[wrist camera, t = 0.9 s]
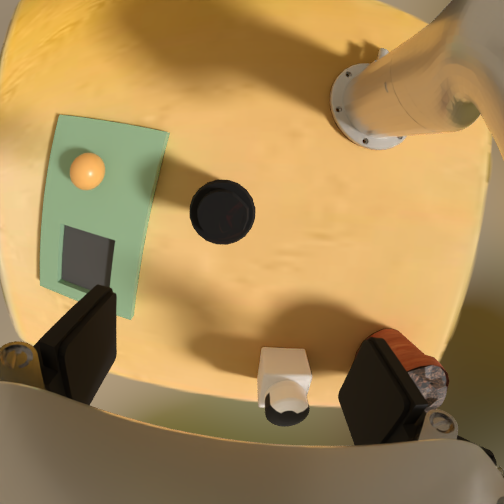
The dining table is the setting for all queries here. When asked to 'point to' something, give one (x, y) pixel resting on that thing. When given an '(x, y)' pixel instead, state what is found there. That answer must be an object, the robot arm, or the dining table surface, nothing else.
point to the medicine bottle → (284, 384)
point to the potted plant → (418, 367)
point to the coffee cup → (222, 212)
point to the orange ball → (87, 171)
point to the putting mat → (99, 209)
